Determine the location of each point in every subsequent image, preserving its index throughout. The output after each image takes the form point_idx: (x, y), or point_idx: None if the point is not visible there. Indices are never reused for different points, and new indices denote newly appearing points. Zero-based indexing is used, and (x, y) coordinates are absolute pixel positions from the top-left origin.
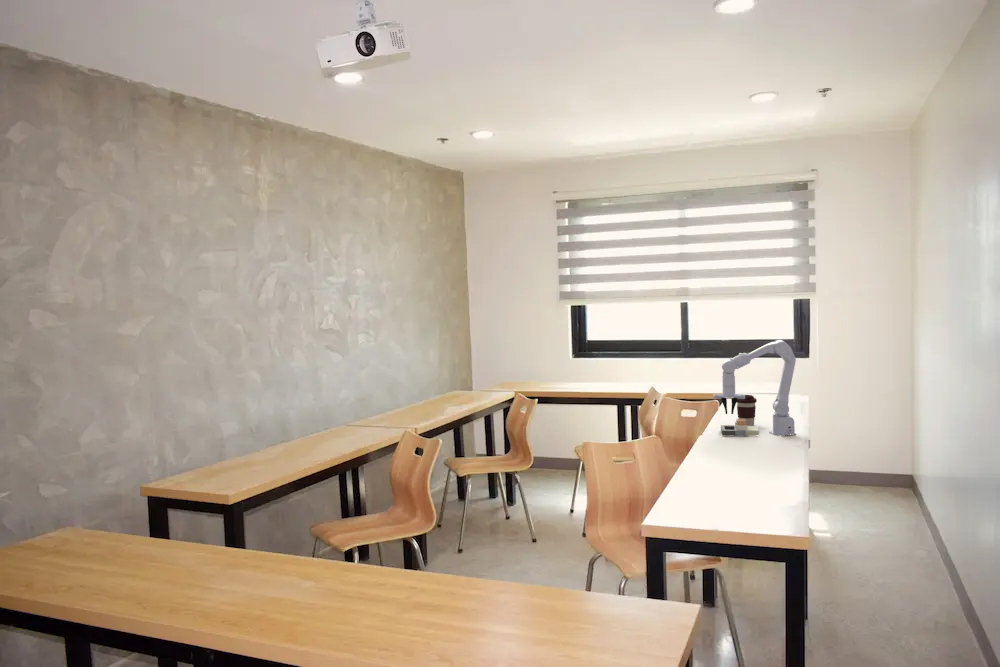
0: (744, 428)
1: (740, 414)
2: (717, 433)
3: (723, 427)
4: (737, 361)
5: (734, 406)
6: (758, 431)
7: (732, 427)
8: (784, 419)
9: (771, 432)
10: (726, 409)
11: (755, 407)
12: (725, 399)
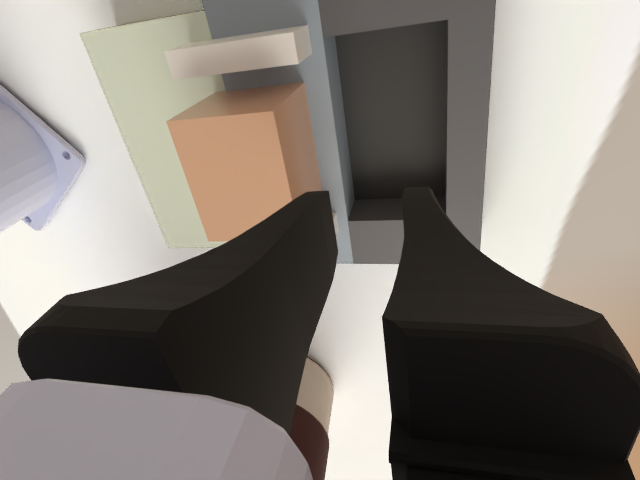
0: (210, 42)
1: (298, 433)
2: (533, 78)
3: (460, 152)
4: None
5: (219, 248)
6: (89, 32)
7: (364, 214)
8: None
9: (56, 142)
10: (415, 215)
11: None
12: (434, 458)
